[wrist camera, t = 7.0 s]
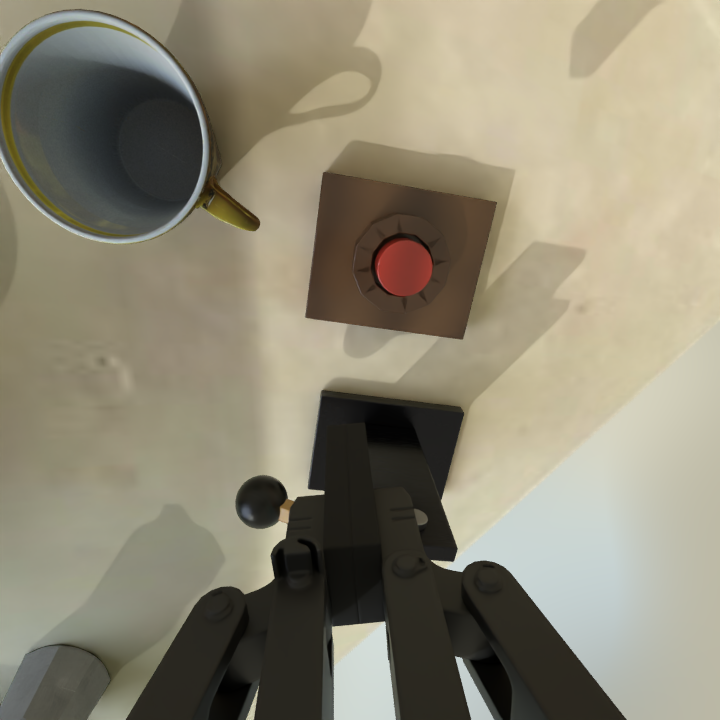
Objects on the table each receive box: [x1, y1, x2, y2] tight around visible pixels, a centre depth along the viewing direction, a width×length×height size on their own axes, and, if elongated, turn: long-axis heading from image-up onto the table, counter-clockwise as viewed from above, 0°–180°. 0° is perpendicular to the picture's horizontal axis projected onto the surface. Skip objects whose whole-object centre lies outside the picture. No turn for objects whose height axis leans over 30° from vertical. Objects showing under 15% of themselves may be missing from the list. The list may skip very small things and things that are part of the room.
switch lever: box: [236, 475, 294, 529], centre depth 29 cm, size 13×3×3 cm, turn 81°
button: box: [375, 238, 433, 296], centre depth 30 cm, size 4×4×2 cm
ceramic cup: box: [0, 9, 260, 244], centre depth 26 cm, size 13×10×10 cm
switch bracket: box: [308, 390, 464, 562], centre depth 33 cm, size 12×9×15 cm
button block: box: [305, 172, 497, 339], centre depth 32 cm, size 12×10×4 cm
